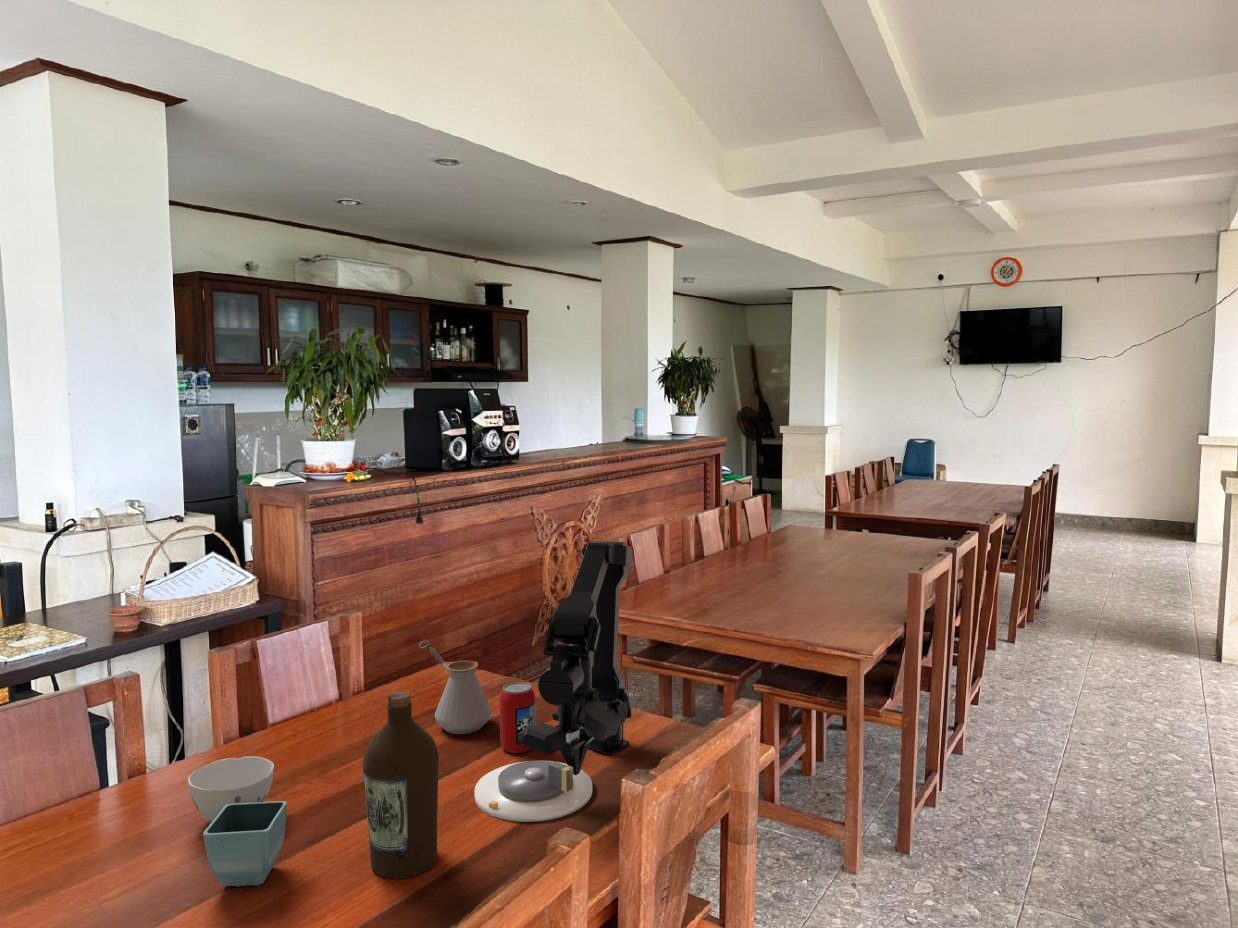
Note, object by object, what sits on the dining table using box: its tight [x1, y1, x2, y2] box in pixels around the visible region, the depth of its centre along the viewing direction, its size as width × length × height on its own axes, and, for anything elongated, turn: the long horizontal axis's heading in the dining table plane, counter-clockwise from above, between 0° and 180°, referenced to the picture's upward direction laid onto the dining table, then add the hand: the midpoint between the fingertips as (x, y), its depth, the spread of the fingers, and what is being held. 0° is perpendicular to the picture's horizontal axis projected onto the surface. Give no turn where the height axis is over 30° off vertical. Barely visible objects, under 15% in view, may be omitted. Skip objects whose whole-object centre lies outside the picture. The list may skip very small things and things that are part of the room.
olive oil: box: [362, 691, 440, 880], centre depth 123 cm, size 11×11×25 cm
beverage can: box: [499, 681, 537, 754], centre depth 162 cm, size 7×7×12 cm
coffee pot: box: [418, 639, 493, 735], centre depth 176 cm, size 21×12×15 cm, turn 43°
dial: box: [498, 760, 573, 802], centre depth 143 cm, size 14×12×5 cm
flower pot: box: [202, 800, 288, 887], centre depth 120 cm, size 9×9×9 cm
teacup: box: [187, 755, 275, 823], centre depth 137 cm, size 15×12×8 cm
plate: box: [474, 760, 593, 823], centre depth 144 cm, size 20×20×2 cm
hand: (575, 773), depth 142 cm, fingers closed
